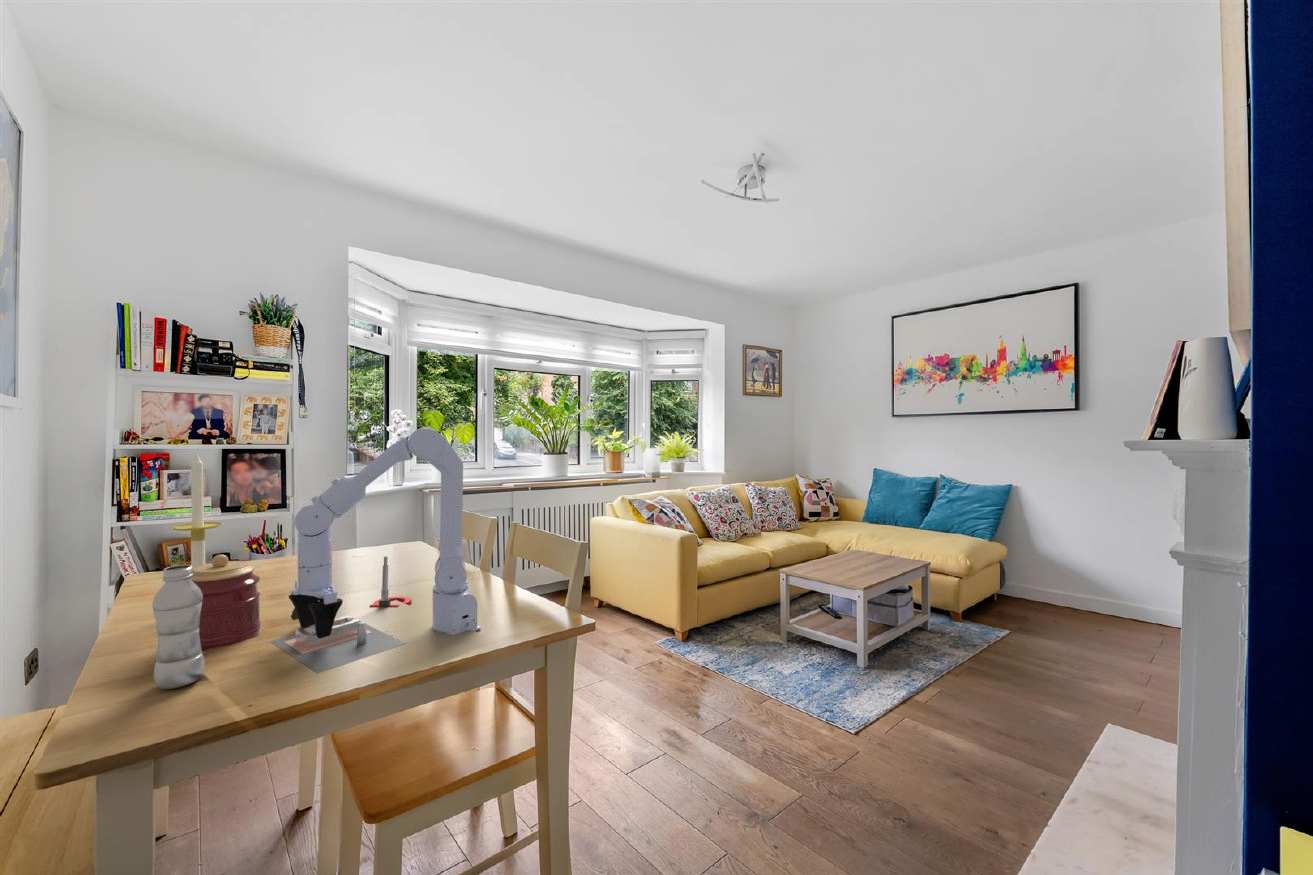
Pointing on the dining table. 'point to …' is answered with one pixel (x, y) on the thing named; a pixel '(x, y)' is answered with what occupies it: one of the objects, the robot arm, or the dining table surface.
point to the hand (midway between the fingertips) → (315, 631)
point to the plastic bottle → (178, 629)
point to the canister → (227, 602)
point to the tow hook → (386, 600)
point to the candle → (197, 516)
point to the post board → (339, 648)
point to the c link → (339, 630)
